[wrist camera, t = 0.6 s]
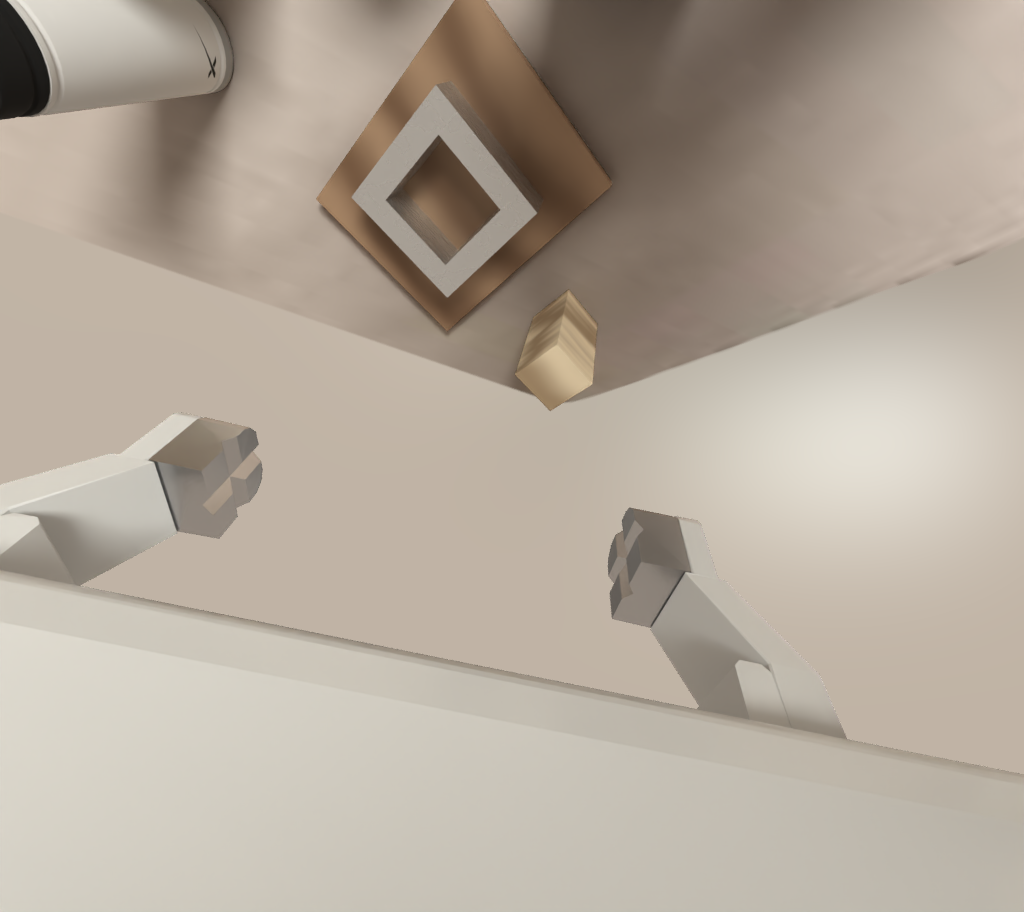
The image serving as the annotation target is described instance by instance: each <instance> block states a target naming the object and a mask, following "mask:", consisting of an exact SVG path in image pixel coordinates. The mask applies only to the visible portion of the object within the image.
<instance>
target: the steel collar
mask: <svg viewBox="0 0 1024 912" xmlns="http://www.w3.org/2000/svg"><path fill="white" fill-rule="evenodd" d="M442 140H443V141H444V142H445V143H446V144H447V146H448V147H449V148H450V149H451V150H452V152H453V153H454V154H455V155H456V156H457V158H458V159H459V160H460V161H461V163H462V164H463V165H464V166H465V167H466V169H467V170H468V171H469V172H470V173H471V175H472V176H473V177H474V178H475V180H476V181H477V182H478V183H479V184H480V186H481V187H482V188H483V189H484V191H485V192H486V193H487V194H488V195H489V197H490V198H491V199H492V200H493V201H494V203H495V204H496V205H497V206H498V208H499V209H498V210H497V211H496V212H495V213H494V214H493V215H492V216H491V217H490V218H489V219H488V220H487V221H486V222H485V223H484V224H483V225H482V226H481V227H480V228H479V229H478V230H477V231H476V232H475V233H474V234H473V235H472V236H471V237H470V238H469V239H468V240H467V241H466V242H465V243H464V244H463V245H462V246H461V247H460V248H459V249H457V248H456V247H455V246H454V245H453V244H452V243H451V242H450V241H449V239H448V238H447V237H446V236H445V235H444V234H443V233H442V232H441V231H440V229H439V228H438V227H437V226H436V225H435V224H434V223H433V222H432V220H431V219H430V218H429V217H428V216H427V215H426V214H425V213H424V212H423V210H422V209H421V208H420V207H419V206H418V205H417V204H416V203H415V202H414V200H413V199H412V198H411V197H410V196H409V195H408V194H407V193H406V192H405V190H404V189H403V188H404V186H405V185H406V184H407V183H408V181H409V180H410V179H411V178H412V177H413V175H414V174H415V173H416V172H417V170H418V169H419V168H420V167H421V166H422V164H423V163H424V162H425V161H426V159H427V158H428V157H429V156H430V155H431V153H432V152H433V151H434V150H435V148H436V147H437V146H438V145H439V144H440V142H441V141H442ZM351 198H352V199H353V200H354V201H355V202H356V203H357V204H358V205H359V206H360V207H361V208H362V209H363V210H364V211H365V212H366V213H367V214H368V215H369V216H370V217H371V218H372V219H373V221H374V222H375V223H376V224H377V225H378V226H379V227H380V228H381V229H382V230H383V231H384V232H385V233H386V234H387V235H388V236H389V237H390V238H391V239H392V240H393V241H394V243H395V244H396V245H397V246H398V247H399V248H400V249H401V250H402V251H403V252H404V253H405V254H406V255H407V256H408V257H409V258H410V259H411V260H412V261H413V262H414V263H415V264H416V266H417V267H418V268H419V269H420V270H421V271H422V272H423V273H424V274H425V275H426V276H427V277H428V278H429V279H430V280H431V281H432V282H433V283H434V284H435V285H436V286H437V288H438V289H439V290H440V291H441V292H442V293H443V294H444V295H445V296H446V297H447V298H448V297H449V296H450V295H451V294H452V293H453V292H454V291H455V290H456V289H457V288H458V287H459V286H460V285H461V284H463V283H464V282H465V281H466V280H467V279H468V278H469V277H470V276H471V275H472V274H473V273H474V272H475V271H476V270H477V269H478V268H480V267H481V266H482V265H483V264H484V263H485V262H486V261H487V260H488V259H489V258H490V257H491V256H492V255H493V254H494V253H495V252H497V251H498V250H499V249H500V248H501V247H502V246H503V245H504V244H505V243H506V242H507V241H508V240H509V239H510V238H511V237H512V236H514V235H515V234H516V233H517V232H518V231H519V230H520V229H521V228H522V227H523V226H524V225H525V224H526V223H527V222H528V221H529V220H531V219H532V218H533V217H534V216H535V215H536V214H537V213H538V211H539V208H540V206H541V204H542V202H543V199H542V197H541V196H540V195H539V194H538V192H537V191H536V190H535V188H534V187H533V186H532V185H531V183H530V182H529V181H528V179H527V178H526V177H525V175H524V174H523V173H522V172H521V170H520V169H519V168H518V166H517V165H516V164H515V163H514V161H513V160H512V159H511V157H510V156H509V155H508V153H507V152H506V151H505V150H504V148H503V147H502V146H501V144H500V143H499V142H498V141H497V139H496V138H495V137H494V135H493V134H492V133H491V131H490V130H489V129H488V128H487V126H486V125H485V124H484V122H483V121H482V120H481V119H480V117H479V116H478V115H477V113H476V112H475V111H474V109H473V108H472V107H471V106H470V104H469V103H468V102H467V100H466V99H465V98H464V97H463V95H462V94H461V93H460V91H459V90H458V89H457V87H456V86H455V85H454V84H453V82H452V81H449V82H444V83H440V84H436V85H435V86H434V88H433V89H432V90H431V92H430V93H429V94H428V96H427V97H426V98H425V100H424V101H423V102H422V104H421V105H420V106H419V108H418V109H417V110H416V112H415V113H414V114H413V116H412V117H411V118H410V120H409V121H408V122H407V124H406V125H405V126H404V128H403V129H402V130H401V132H400V133H399V134H398V136H397V137H396V138H395V140H394V141H393V142H392V144H391V145H390V146H389V148H388V149H387V150H386V152H385V153H384V154H383V156H382V157H381V158H380V160H379V161H378V162H377V164H376V165H375V166H374V168H373V169H372V170H371V172H370V173H369V174H368V176H367V177H366V178H365V180H364V181H363V182H362V184H361V185H360V186H359V188H358V189H357V190H356V192H355V193H354V194H353V196H352V197H351Z"/></svg>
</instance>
